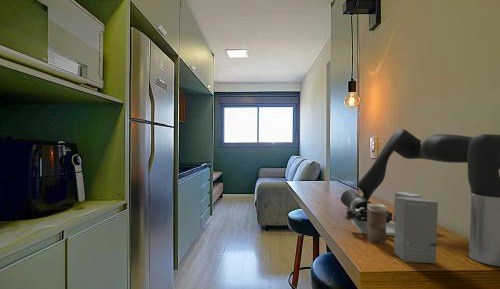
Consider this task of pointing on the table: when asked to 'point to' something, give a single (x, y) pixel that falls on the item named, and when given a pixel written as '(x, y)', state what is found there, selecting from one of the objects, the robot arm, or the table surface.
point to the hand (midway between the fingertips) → (374, 219)
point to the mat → (363, 227)
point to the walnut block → (376, 223)
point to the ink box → (404, 194)
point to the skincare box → (416, 230)
